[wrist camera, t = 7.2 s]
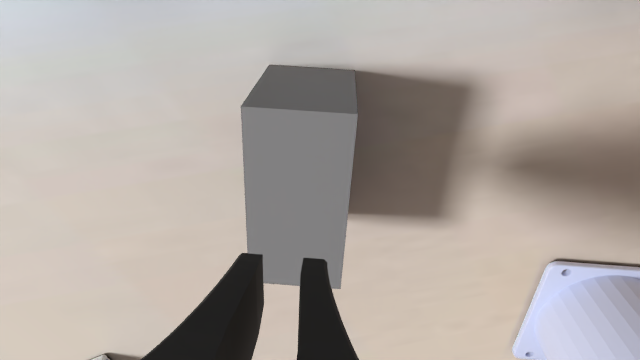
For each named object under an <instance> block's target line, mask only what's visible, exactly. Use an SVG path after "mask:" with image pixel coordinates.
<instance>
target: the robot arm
mask: <svg viewBox="0 0 640 360" xmlns="http://www.w3.org/2000/svg"><path fill="white" fill-rule="evenodd" d="M565 269H567V270H566V271H563V270H565ZM263 306H264V290H263V254H249V253H242V254H241V255H239V256H238V258H237V259H236V261H235V262H234V263H233V265H232V266H231V267H230V269H229V270H228V271H227V272H226V274H225V275H224V276H223V278H222V279H221V280H220V281H219V282H218V284H217V285H216V286H215V287H214V288H213V290H212V291H211V292H210V293H209V294H208V295H207V296H206V298H205V299H204V300H203V301H202V302H201V303H200V304H199V305H198V307H197V308H196V309H195V310H194V311H193V312H192V313H191V314H190V315H189V316H188V317H187V318H186V319H185V320H184V321H183V322H182V323H181V324H180V325H179V326H178V327H177V328H176V329H175V330H174V331H173V332H172V333H171V334H170V335H169V336H168V337H166V338H165V339H164V340H163V341H162V342H161V343H160V344H159V345H157V346H156V347H155V348H154V349H153V350H152V351H151V352H149V353H148V354H147V355H146V356H145V357H143V358H142V359H141V360H251V359H252V356H253V352H254V349H255V345H256V342H257V338H258V334H259V329H260V323H261V318H262V312H263ZM512 352H513V354H514V356H515V357H516V358H522V359H535V360H640V267H629V266H615V265H602V264H589V263H575V262H562V261H554V262H551V263H549V264H548V265H547V267H546V268H545V271H544V273H543V276H542V278H541V280H540V283H539V285H538V288H537V290H536V292H535V295H534V297H533V300H532V302H531V304H530V307H529V309H528V312H527V314H526V317H525V319H524V321H523V324H522V326H521V329H520V331H519V333H518V336H517V338H516V341H515V343H514V345H513V348H512ZM297 360H359V359H358V357H357V355H356V353H355V351H354V348H353V346H352V344H351V342H350V340H349V337H348V335H347V332H346V330H345V328H344V325H343V322H342V320H341V317H340V314H339V311H338V308H337V306H336V303H335V299H334V296H333V293H332V289H331V285H330V280H329V275H328V267H327V262H326V261H325V260H324V259H316V258H303V263H302V268H301V274H300V301H299V329H298V354H297Z"/></svg>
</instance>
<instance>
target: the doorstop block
mask: <svg viewBox="0 0 640 360" xmlns="http://www.w3.org/2000/svg"><path fill="white" fill-rule="evenodd" d="M357 118H358V109H357V95H356V81H355V70H343V69H328V68H312V67H297V66H281V65H269V66H268V67H267V69H266V70H265V72H264V73H263V75H262V76H261V78H260V79H259V81H258V82H257V84H256V85H255V86H254V88H253V89H252V91H251V92H250V94H249V95H248V97H247V98H246V100H245V101H244V103H243V104H242V106H241V119H242V141H243V163H244V185H245V206H246V228H247V250H248V253H249V254H263V283H269V284H282V285H295V286H300V274H301V268H302V263H303V258H316V259H324V260H325V261H326V262H327V267H328V275H329V280H330V285H331V288H334V289H340V288H341V278H342V268H343V258H344V248H345V238H346V228H347V218H348V208H349V198H350V188H351V178H352V168H353V158H354V148H355V138H356V128H357Z"/></svg>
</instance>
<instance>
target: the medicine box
mask: <svg viewBox="0 0 640 360" xmlns="http://www.w3.org/2000/svg"><path fill="white" fill-rule="evenodd" d="M91 360H110V359H109V358H108V357H107V356H106V355H101V356H98V357H96V358H93V359H91Z"/></svg>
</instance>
